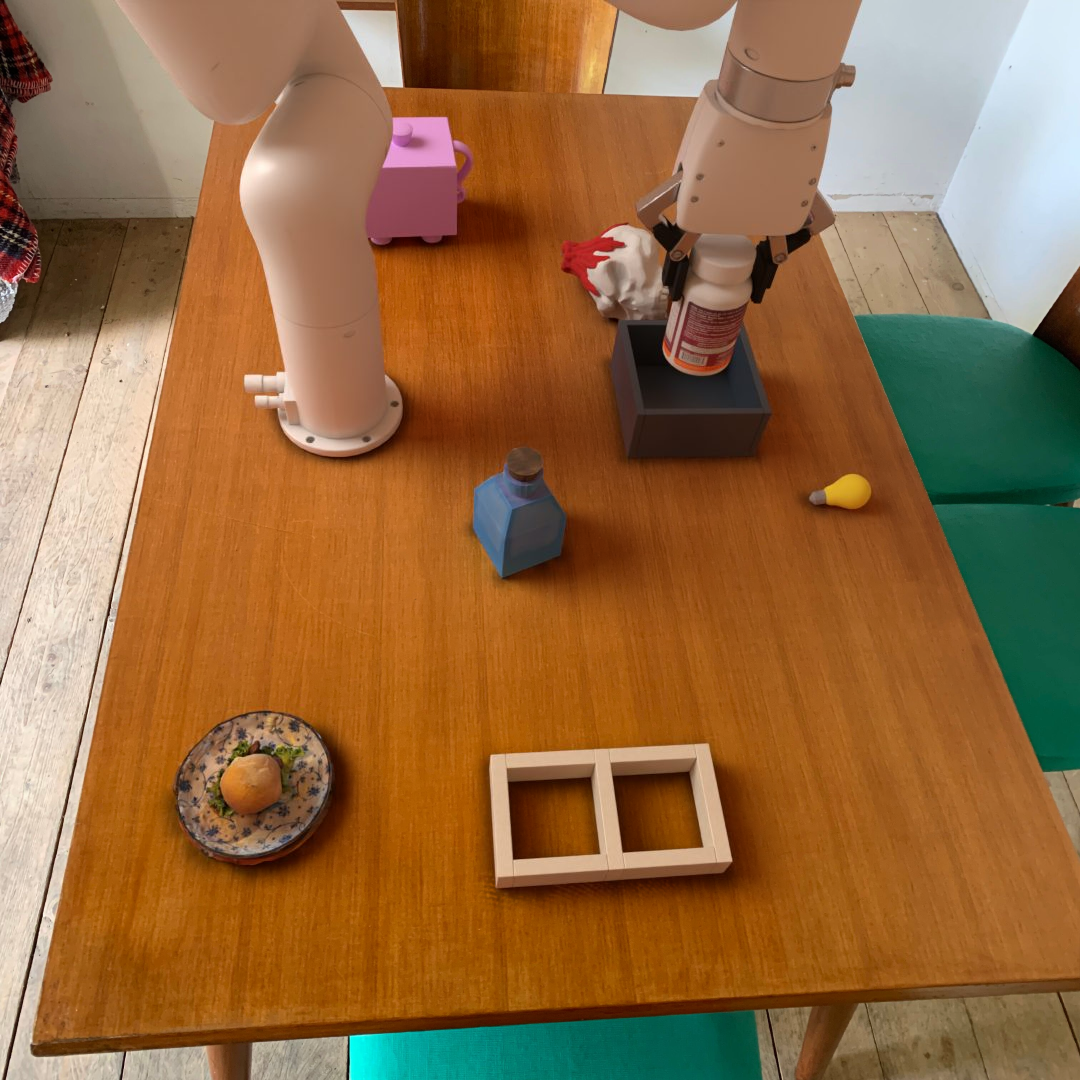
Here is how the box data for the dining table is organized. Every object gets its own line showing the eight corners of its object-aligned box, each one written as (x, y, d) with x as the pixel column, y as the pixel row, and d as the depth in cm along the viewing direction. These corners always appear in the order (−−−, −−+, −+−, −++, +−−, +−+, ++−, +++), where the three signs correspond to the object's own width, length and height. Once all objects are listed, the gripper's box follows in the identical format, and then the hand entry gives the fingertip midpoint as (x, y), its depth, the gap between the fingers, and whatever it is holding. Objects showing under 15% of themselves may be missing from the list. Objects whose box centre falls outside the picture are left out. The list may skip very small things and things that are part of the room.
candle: (661, 344, 104) (539, 316, 108) (690, 286, 110) (573, 261, 114) (667, 278, 97) (536, 251, 101) (697, 220, 103) (573, 196, 107)
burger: (336, 713, 76) (326, 672, 70) (335, 858, 69) (323, 826, 63) (185, 725, 74) (161, 684, 68) (169, 874, 68) (141, 843, 62)
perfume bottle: (501, 578, 85) (508, 498, 75) (473, 528, 88) (475, 446, 78) (560, 555, 87) (573, 475, 77) (530, 508, 90) (540, 424, 80)
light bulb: (871, 509, 93) (877, 498, 90) (811, 520, 94) (815, 509, 91) (863, 478, 94) (869, 466, 91) (804, 489, 95) (808, 477, 92)
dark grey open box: (627, 458, 95) (637, 414, 89) (610, 365, 102) (618, 319, 97) (754, 456, 96) (772, 413, 91) (728, 364, 104) (743, 319, 99)
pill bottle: (743, 365, 82) (780, 258, 73) (688, 387, 79) (720, 279, 70) (700, 324, 84) (731, 216, 75) (647, 344, 82) (672, 235, 73)
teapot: (467, 195, 118) (469, 101, 108) (477, 244, 113) (479, 150, 103) (309, 200, 115) (295, 103, 105) (310, 251, 110) (296, 154, 99)
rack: (496, 888, 69) (497, 877, 66) (489, 768, 74) (490, 754, 72) (723, 873, 71) (732, 861, 68) (700, 757, 76) (708, 743, 74)
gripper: (882, 57, 65) (802, 265, 80) (642, 44, 63) (605, 260, 78) (913, 116, 61) (823, 324, 75) (656, 104, 59) (615, 320, 73)
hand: (713, 290), depth 76 cm, fingers closed on pill bottle, 6 cm apart
